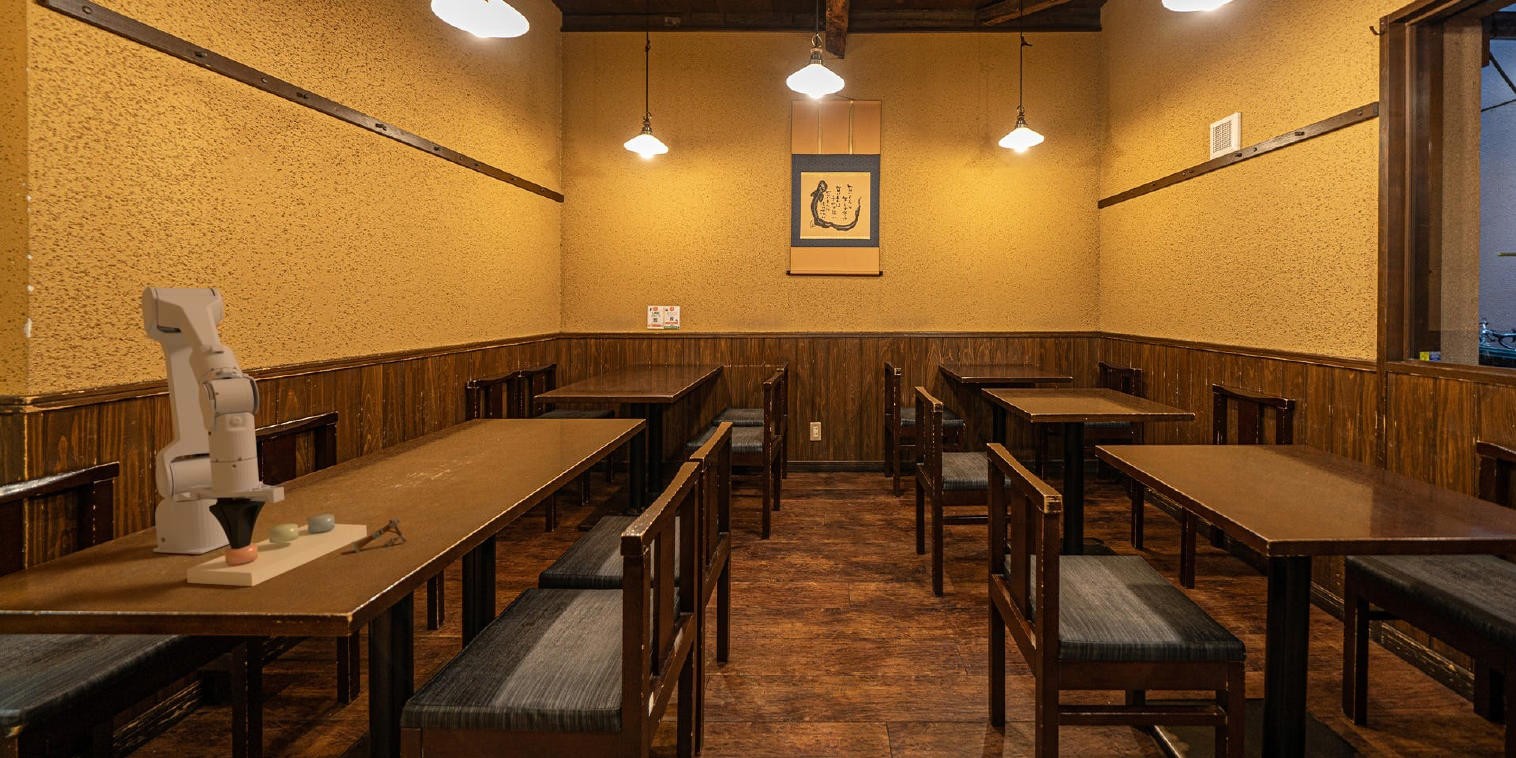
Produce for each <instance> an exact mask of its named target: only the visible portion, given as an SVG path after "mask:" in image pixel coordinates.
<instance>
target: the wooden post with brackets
mask: <svg viewBox="0 0 1516 758" xmlns="http://www.w3.org/2000/svg"><path fill="white" fill-rule="evenodd" d="M388 522H389V523H388V524H387V525H386V526H384V527H382V528H378V530H376V531H374V532H373V533H371V535H369V536H366V537H364V538H361V539H359V540H357V541H355V542H351V543H350V544H351V546H352V548H353V549H354V550H355V552H356V553H357V554H358V553H360V550H362V549H363V547H365V546H366V545H368V544H369V543H370V542H372V541H375V540H377V539H379V538H380V537H382V536H384V535H385V533H388V532H389V533H393V534H397V535H398V536H397V537H394V538H392V537H390V539H389V540H386V541H385V543H383V546H382V547H383V548H387V547H391V546H392V545H396V542H398V540H399V539H400V540H402V542H403V543H405V542H406V541H407V539H406V536H405V535H404V533H403V532H401V530H400V529H399V527H398V526H399V525H400V523H401V522H402V520H401V518H398V519H390V520H388ZM393 529H394V530H393Z"/></svg>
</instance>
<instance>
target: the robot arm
mask: <svg viewBox="0 0 1516 758" xmlns="http://www.w3.org/2000/svg"><path fill="white" fill-rule="evenodd" d="M141 312H142V319H143V327H144V331H145V332H146V338H148V339H150V340H152V341H156V342H158V343H159V344H160V346H161V347H160V348H161V349H162V352H163V355H164V362H165V364H164V365H165V371H166V378H167V379H166V380H167V387H168V394H169V402H170V410H171V411H170V412H171V417H172V418H171V419H172V426H173V427H172V428H173V434H174V439H173V440H172V441H171V442H170V443H168V444H167V445H165V446H164V447H163V448H161V449H160V450H159V451H158V453H157V454H156V457H155V464H156V465H155V482H156V486H157V487H156V488H157V490H158V494H159V495H160V496H161V497H163V499H162V500H161V501H160V502H159V503H158V505H157V507H156V509H155V513H154V518H155V529H156V541H157V547H156V548H155V547H154V548H153V549H152V552H154V553H169V554H189V555H190V554H192V555H201V554H206V553H207V552H211V551H214V550H216V549H219V548H222V547H224V546H227V545H229V546H231V548H232V549H241V548H244V547H246V546H249V545H250V543H252V542H251V541H252V538H253V533H254V529H255V525H256V523H257V520H258V518H259V515H260V513H261V511H262V509H263V507H264V506H265V504H266V502H268V503H269V504H274V503H275V504H276V503H278V502H281V501H284V500H285V489H284V487H283V486H275V485H274V486H273V485H268V484H264V482H263V481H260V480H259V467H258V464H259V463H258V453H257V451H258V450H257V439H256V428H255V427H256V426H255V416H254V415H257V413H258V411H259V409H260V408H259V407H260V394H259V388H258V385H257V382H256V380H255V378H254V377H253V376H249V375H250V374H248V373H244V372H243V370H242V369H241V366H240V364H239V363H238V362H239V361H238V360H237V358H236V356H235V353H234V351H233V350H232V348H231V347H229V346H227V345H225V344H222V343H221V340H220V336H219V332H218V327H219V325H220V323H221V321H222V319H223V317H224V302H223V297H222V294H221V292H220V291H219V290H218V289H217V288H216V287H214V286H213V287H212V286H211V287H158V286H157V287H153V285H152V286H151V285H150V286H147V287H146V288H144V289H143V290H142V293H141ZM207 453H208V455H201V456H195V457H186V458H177V457H182V456H190V455H197V454H207ZM175 458H177V459H175Z"/></svg>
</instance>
